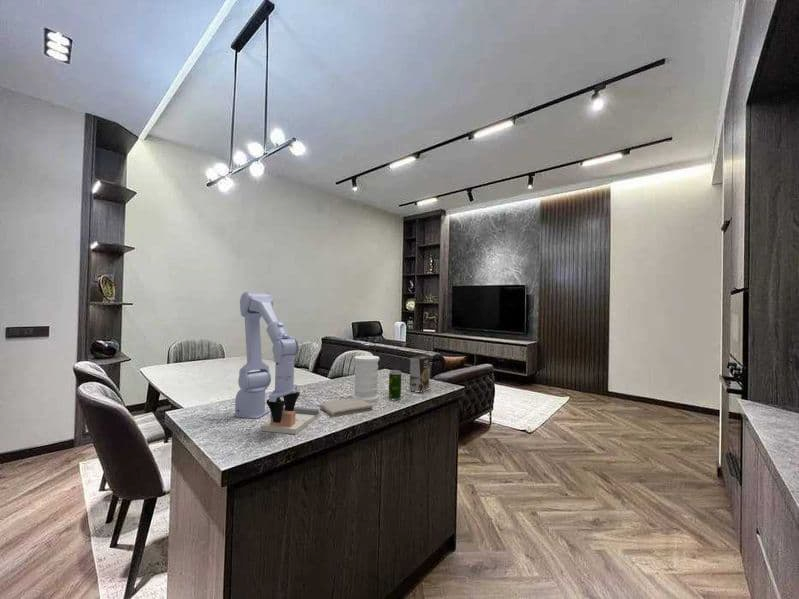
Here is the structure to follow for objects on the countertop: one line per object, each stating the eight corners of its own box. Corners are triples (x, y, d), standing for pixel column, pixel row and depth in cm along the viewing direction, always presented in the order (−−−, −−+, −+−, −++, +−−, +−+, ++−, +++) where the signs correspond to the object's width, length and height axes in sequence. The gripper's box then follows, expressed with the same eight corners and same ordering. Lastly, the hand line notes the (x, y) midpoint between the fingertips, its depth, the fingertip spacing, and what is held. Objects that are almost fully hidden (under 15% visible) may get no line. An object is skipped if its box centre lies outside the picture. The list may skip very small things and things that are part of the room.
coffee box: (420, 393, 159) (421, 358, 159) (408, 391, 162) (409, 357, 163) (429, 389, 167) (430, 356, 167) (418, 387, 170) (419, 355, 170)
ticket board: (271, 422, 115) (271, 414, 115) (289, 412, 127) (289, 403, 127) (307, 426, 113) (307, 417, 113) (321, 415, 125) (322, 406, 125)
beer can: (397, 396, 153) (398, 369, 153) (402, 399, 148) (403, 371, 148) (386, 397, 151) (387, 370, 151) (391, 400, 146) (391, 372, 146)
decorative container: (346, 398, 147) (347, 356, 147) (366, 393, 156) (367, 354, 156) (365, 404, 139) (366, 360, 140) (384, 398, 148) (385, 357, 148)
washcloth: (374, 411, 133) (375, 403, 133) (331, 419, 122) (332, 410, 122) (359, 403, 142) (360, 395, 142) (319, 410, 132) (319, 402, 132)
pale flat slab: (260, 430, 108) (261, 413, 108) (272, 423, 115) (272, 406, 115) (295, 434, 106) (296, 416, 106) (305, 426, 113) (306, 409, 113)
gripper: (284, 381, 102) (283, 427, 102) (306, 372, 116) (304, 412, 116) (263, 380, 103) (261, 425, 103) (287, 371, 118) (285, 410, 117)
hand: (283, 418), depth 110 cm, fingers open, 7 cm apart
